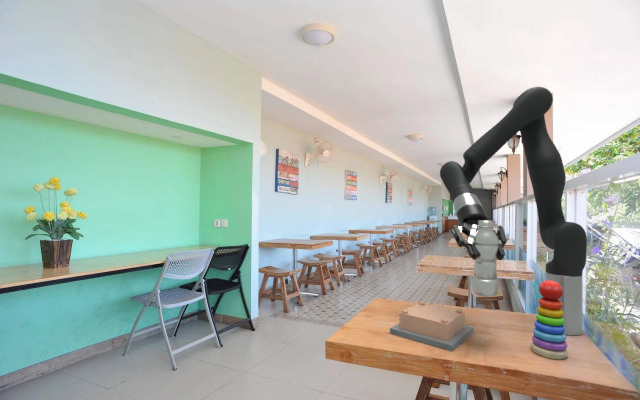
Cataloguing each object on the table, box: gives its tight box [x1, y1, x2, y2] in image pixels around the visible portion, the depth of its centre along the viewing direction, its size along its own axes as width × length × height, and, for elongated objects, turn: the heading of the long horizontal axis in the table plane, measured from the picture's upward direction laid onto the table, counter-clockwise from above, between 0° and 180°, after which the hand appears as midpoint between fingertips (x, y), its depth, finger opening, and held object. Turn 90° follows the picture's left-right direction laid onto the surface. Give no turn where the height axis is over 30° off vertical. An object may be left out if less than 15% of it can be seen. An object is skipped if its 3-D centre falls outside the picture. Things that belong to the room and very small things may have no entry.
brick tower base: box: [389, 300, 475, 352], centre depth 100 cm, size 18×18×7 cm
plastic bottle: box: [471, 219, 500, 297], centre depth 90 cm, size 6×7×20 cm
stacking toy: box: [530, 280, 569, 360], centre depth 87 cm, size 8×8×19 cm
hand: (488, 257), depth 88 cm, fingers closed on plastic bottle, 6 cm apart
